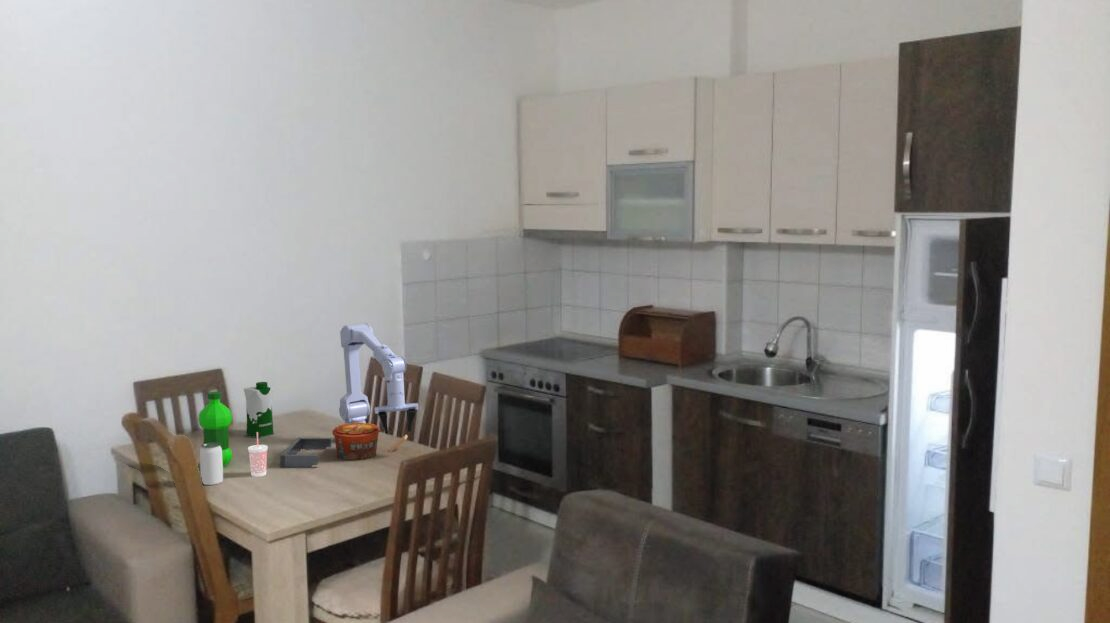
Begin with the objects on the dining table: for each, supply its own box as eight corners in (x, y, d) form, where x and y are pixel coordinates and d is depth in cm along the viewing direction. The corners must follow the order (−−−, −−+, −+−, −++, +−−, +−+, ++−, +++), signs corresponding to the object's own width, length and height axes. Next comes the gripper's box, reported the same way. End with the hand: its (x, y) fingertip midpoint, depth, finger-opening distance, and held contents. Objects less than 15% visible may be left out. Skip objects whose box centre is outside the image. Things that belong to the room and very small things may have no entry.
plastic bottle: (205, 462, 293) (202, 389, 290) (237, 461, 294) (235, 389, 291) (196, 471, 283) (192, 396, 280) (229, 471, 284) (226, 396, 281)
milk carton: (257, 438, 322) (255, 385, 320) (242, 434, 328) (240, 382, 325) (277, 433, 329) (275, 381, 327) (262, 429, 335) (260, 378, 332)
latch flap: (405, 439, 305) (404, 437, 304) (388, 454, 305) (387, 451, 305) (407, 436, 310) (406, 434, 309) (391, 449, 310) (389, 447, 310)
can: (215, 486, 269) (214, 448, 268) (196, 484, 271) (195, 447, 269) (227, 479, 276) (226, 443, 274) (209, 478, 277) (207, 441, 275)
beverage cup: (248, 472, 283) (246, 430, 281) (267, 470, 285) (266, 428, 284) (249, 478, 277) (247, 435, 276) (269, 476, 280) (268, 433, 278)
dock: (297, 448, 310) (297, 437, 310) (331, 448, 311) (331, 437, 310) (280, 467, 289) (280, 455, 288) (317, 467, 289) (316, 455, 288)
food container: (382, 463, 295) (382, 432, 294) (333, 466, 290) (333, 435, 289) (378, 450, 310) (377, 420, 309) (331, 453, 306) (331, 423, 304)
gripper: (375, 396, 290) (377, 436, 291) (419, 392, 294) (421, 432, 295) (372, 393, 296) (375, 432, 297) (415, 389, 301) (417, 428, 302)
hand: (397, 432), depth 297 cm, fingers open, 7 cm apart
